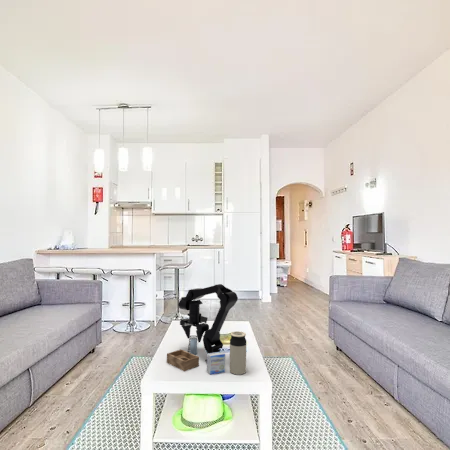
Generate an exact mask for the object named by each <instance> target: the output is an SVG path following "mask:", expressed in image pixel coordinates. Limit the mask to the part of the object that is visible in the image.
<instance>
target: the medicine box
mask: <svg viewBox="0 0 450 450" xmlns="http://www.w3.org/2000/svg"><path fill="white" fill-rule="evenodd" d="M206 359H207V362H206V372H207V373H208V374H209V375H211V376H212V375H216V374H222V373H225V372H226V353H224V351H220V352H215V353H207V352H206Z"/></svg>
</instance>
